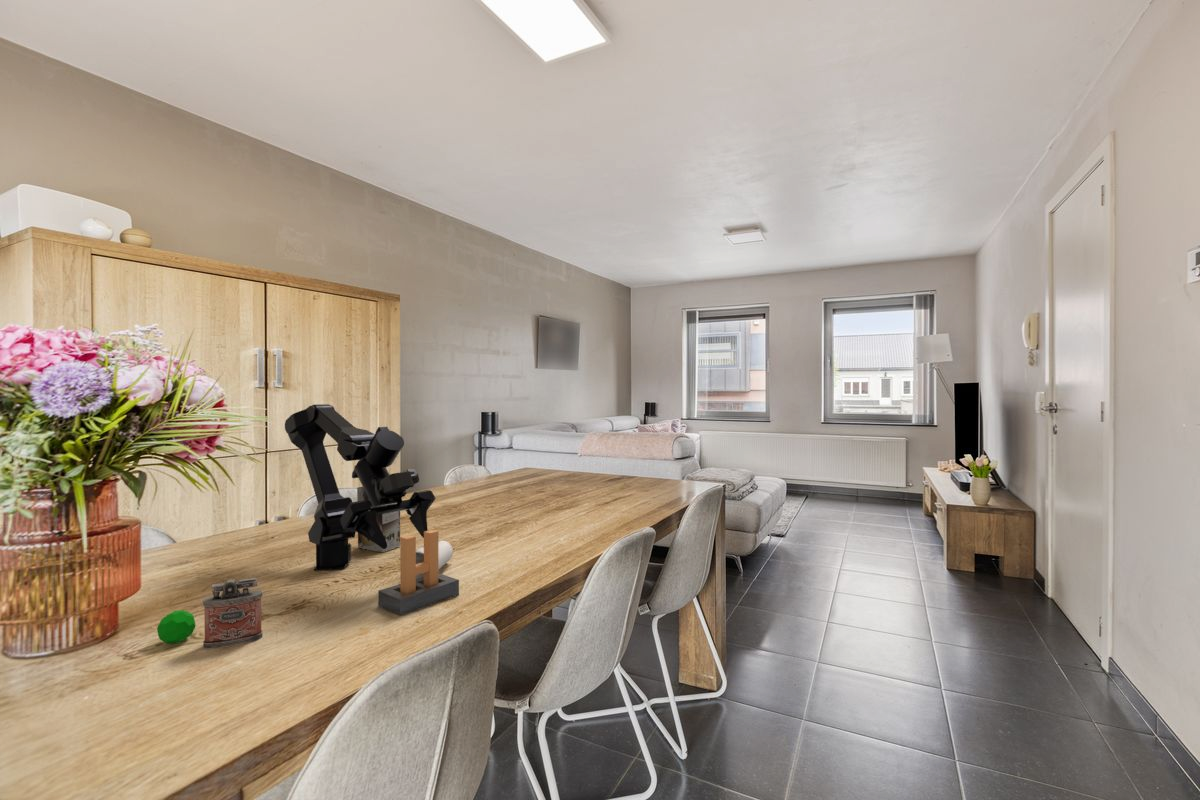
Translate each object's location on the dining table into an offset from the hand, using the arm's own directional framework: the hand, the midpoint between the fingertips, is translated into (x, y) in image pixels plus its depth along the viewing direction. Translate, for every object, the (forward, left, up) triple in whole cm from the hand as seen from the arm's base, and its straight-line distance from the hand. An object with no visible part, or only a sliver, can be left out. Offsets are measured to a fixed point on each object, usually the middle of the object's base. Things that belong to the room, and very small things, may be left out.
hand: (406, 542), depth 110 cm
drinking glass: (+6, +20, -8) cm, 23 cm away
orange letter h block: (+3, -3, -11) cm, 11 cm away
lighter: (-25, -15, -11) cm, 31 cm away
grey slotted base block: (+3, -3, -11) cm, 11 cm away
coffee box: (-11, +37, -11) cm, 40 cm away
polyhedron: (-34, -13, -11) cm, 38 cm away
